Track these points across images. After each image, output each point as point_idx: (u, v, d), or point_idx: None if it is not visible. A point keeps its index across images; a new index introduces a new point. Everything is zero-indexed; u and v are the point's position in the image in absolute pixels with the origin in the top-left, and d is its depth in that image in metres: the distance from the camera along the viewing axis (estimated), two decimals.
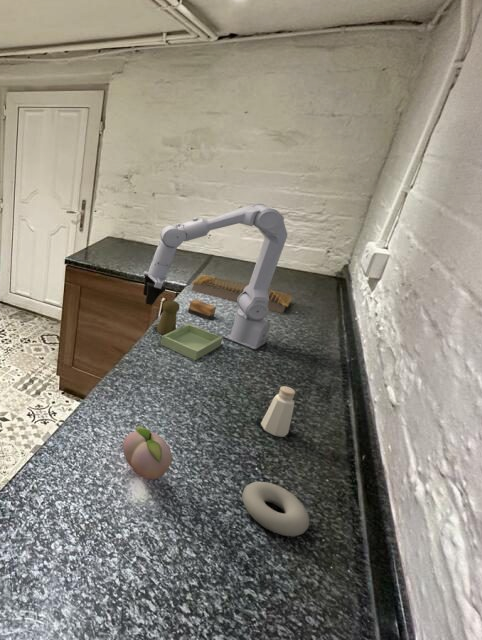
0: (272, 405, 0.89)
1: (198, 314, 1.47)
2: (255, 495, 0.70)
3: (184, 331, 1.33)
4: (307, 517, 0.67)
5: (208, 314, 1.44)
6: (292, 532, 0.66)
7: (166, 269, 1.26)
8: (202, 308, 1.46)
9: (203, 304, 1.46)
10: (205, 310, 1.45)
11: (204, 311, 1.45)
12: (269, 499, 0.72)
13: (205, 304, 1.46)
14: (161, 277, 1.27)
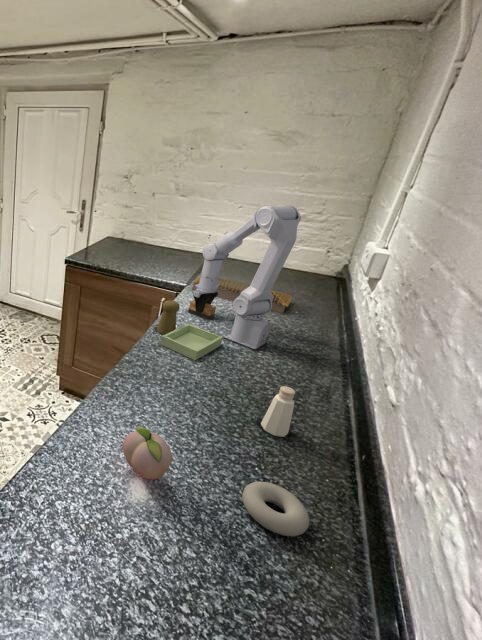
0: (272, 405, 0.89)
1: (198, 314, 1.47)
2: (255, 495, 0.70)
3: (184, 331, 1.33)
4: (307, 517, 0.67)
5: (208, 314, 1.44)
6: (292, 532, 0.66)
7: (210, 282, 1.41)
8: None
9: None
10: (205, 310, 1.44)
11: (204, 311, 1.45)
12: (269, 499, 0.72)
13: None
14: (206, 289, 1.42)
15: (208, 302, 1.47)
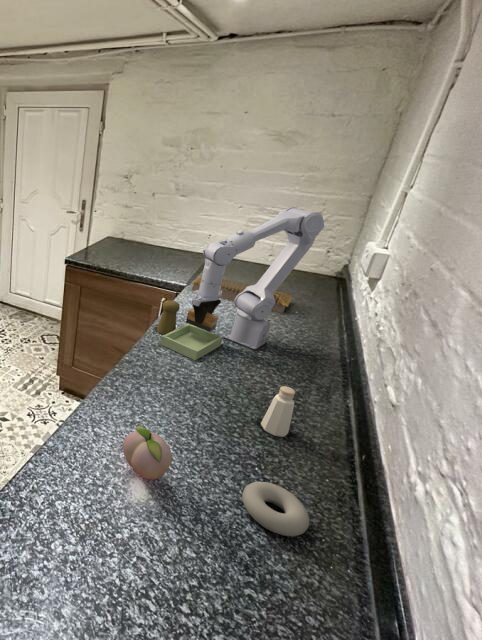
0: (272, 405, 0.89)
1: (197, 325, 1.27)
2: (255, 495, 0.70)
3: (184, 331, 1.33)
4: (307, 517, 0.67)
5: (209, 325, 1.24)
6: (292, 532, 0.66)
7: (212, 288, 1.20)
8: None
9: None
10: (206, 320, 1.24)
11: (204, 322, 1.25)
12: (269, 499, 0.72)
13: None
14: (207, 296, 1.21)
15: (209, 311, 1.26)
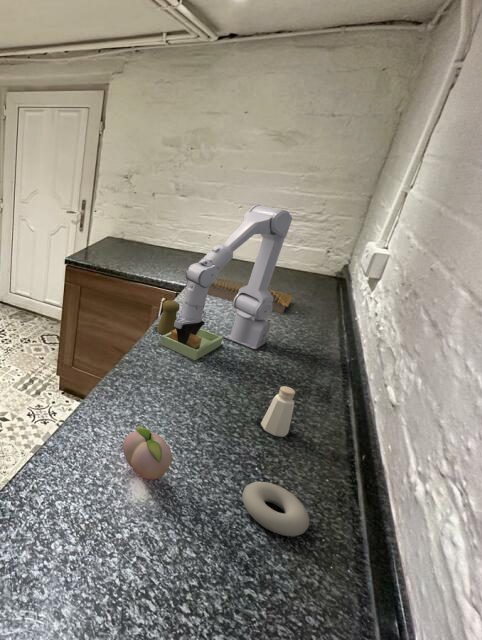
0: (272, 405, 0.89)
1: None
2: (255, 495, 0.70)
3: None
4: (307, 517, 0.67)
5: (192, 347, 1.20)
6: (292, 532, 0.66)
7: (194, 310, 1.17)
8: None
9: None
10: (189, 342, 1.21)
11: (187, 343, 1.21)
12: (269, 499, 0.72)
13: None
14: (189, 318, 1.18)
15: (193, 333, 1.23)
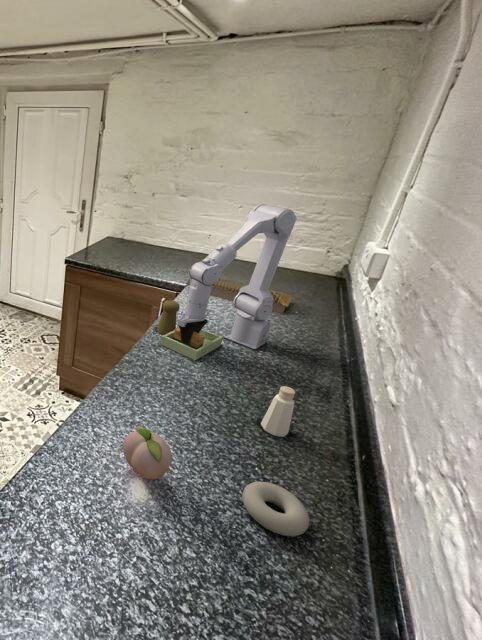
0: (272, 405, 0.89)
1: (184, 344, 1.24)
2: (255, 495, 0.70)
3: None
4: (307, 517, 0.67)
5: (195, 345, 1.21)
6: (292, 532, 0.66)
7: (198, 308, 1.18)
8: None
9: None
10: (192, 340, 1.22)
11: (191, 341, 1.22)
12: (269, 499, 0.72)
13: None
14: (193, 316, 1.19)
15: (196, 331, 1.24)
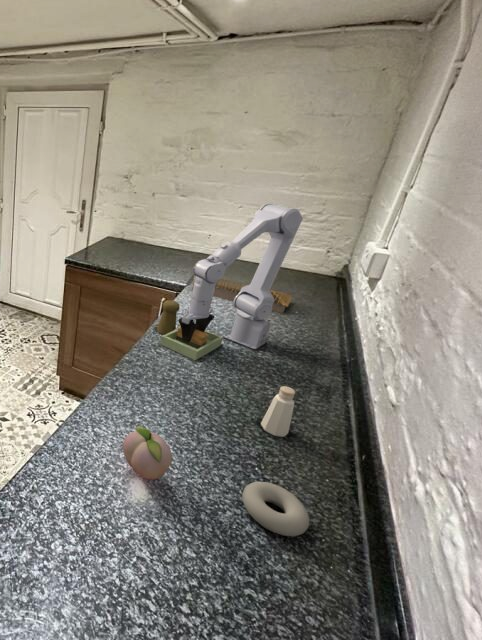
0: (272, 405, 0.89)
1: (187, 343, 1.25)
2: (255, 495, 0.70)
3: None
4: (307, 517, 0.67)
5: (199, 343, 1.22)
6: (292, 532, 0.66)
7: (202, 305, 1.19)
8: None
9: None
10: (196, 338, 1.23)
11: (194, 340, 1.23)
12: (269, 499, 0.72)
13: (196, 331, 1.25)
14: (197, 313, 1.20)
15: (203, 327, 1.26)
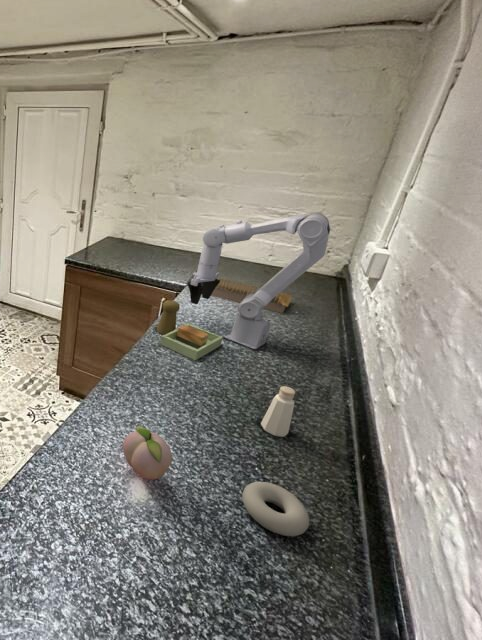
0: (272, 405, 0.89)
1: (187, 343, 1.25)
2: (255, 495, 0.70)
3: None
4: (307, 517, 0.67)
5: (199, 343, 1.22)
6: (292, 532, 0.66)
7: (209, 269, 1.30)
8: (191, 336, 1.24)
9: (193, 331, 1.25)
10: (196, 338, 1.23)
11: (194, 340, 1.23)
12: (269, 499, 0.72)
13: (196, 331, 1.25)
14: (204, 277, 1.31)
15: (209, 290, 1.37)
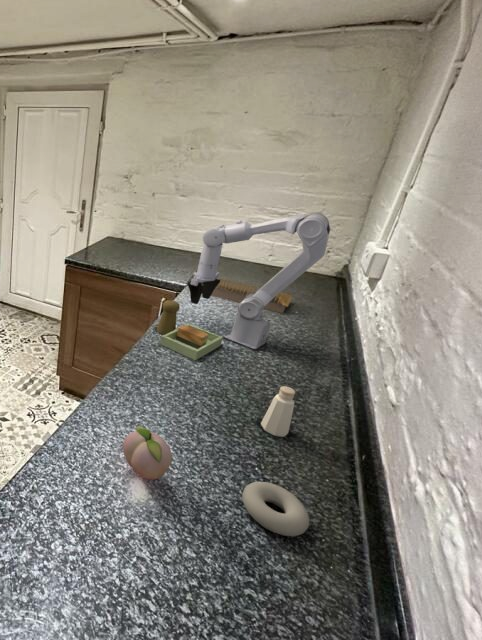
0: (272, 405, 0.89)
1: (187, 343, 1.25)
2: (255, 495, 0.70)
3: None
4: (307, 517, 0.67)
5: (199, 343, 1.22)
6: (292, 532, 0.66)
7: (209, 269, 1.30)
8: (191, 336, 1.24)
9: (193, 331, 1.25)
10: (196, 338, 1.23)
11: (194, 340, 1.23)
12: (269, 499, 0.72)
13: (196, 331, 1.25)
14: (204, 277, 1.31)
15: (209, 290, 1.37)
